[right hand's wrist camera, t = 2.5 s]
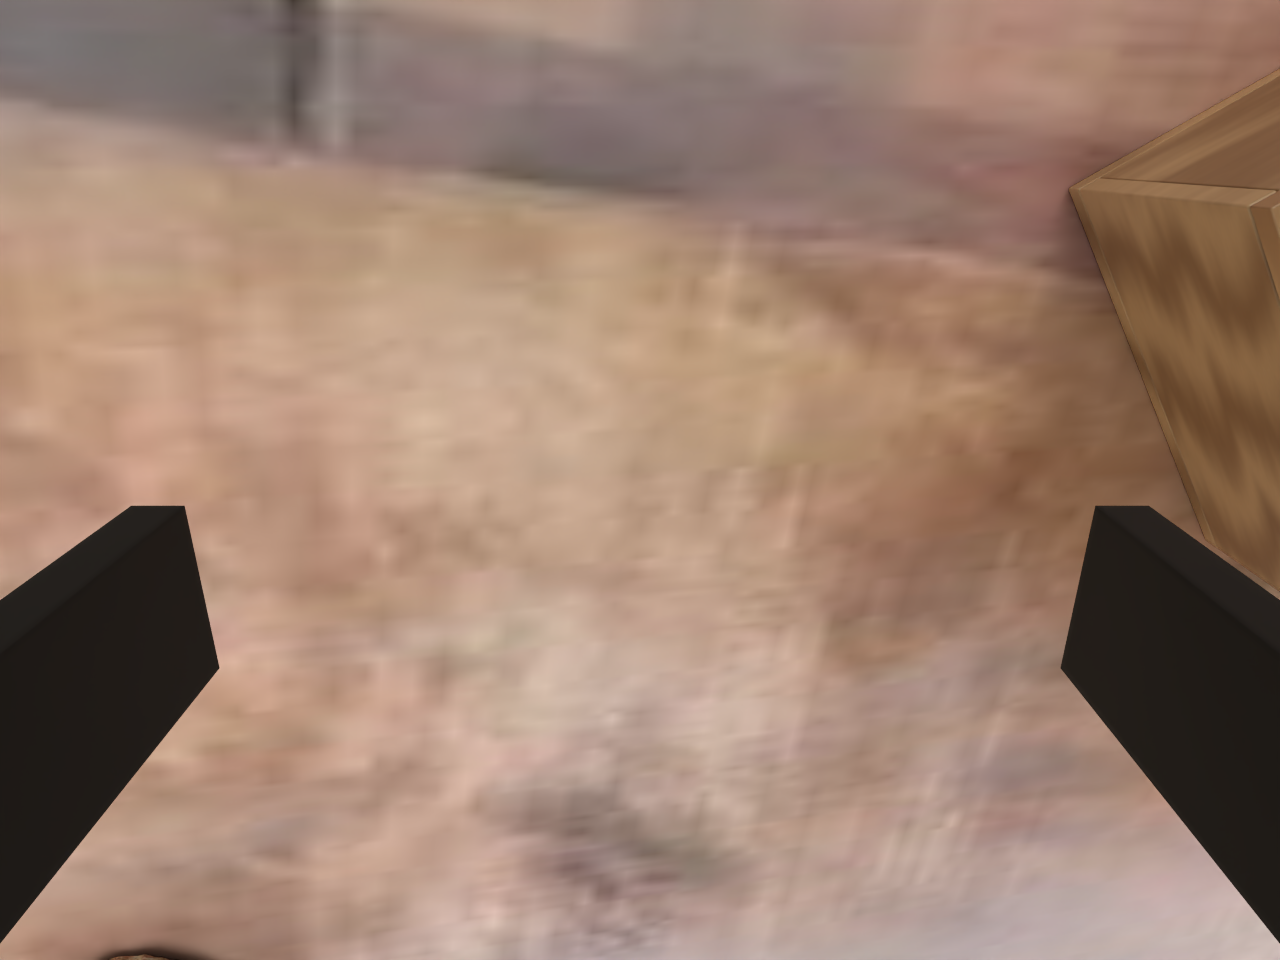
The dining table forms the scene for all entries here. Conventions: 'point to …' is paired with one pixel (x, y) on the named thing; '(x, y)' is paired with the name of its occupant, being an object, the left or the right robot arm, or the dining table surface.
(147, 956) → the rock
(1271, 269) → the lid
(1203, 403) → the chest
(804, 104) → the dining table surface
